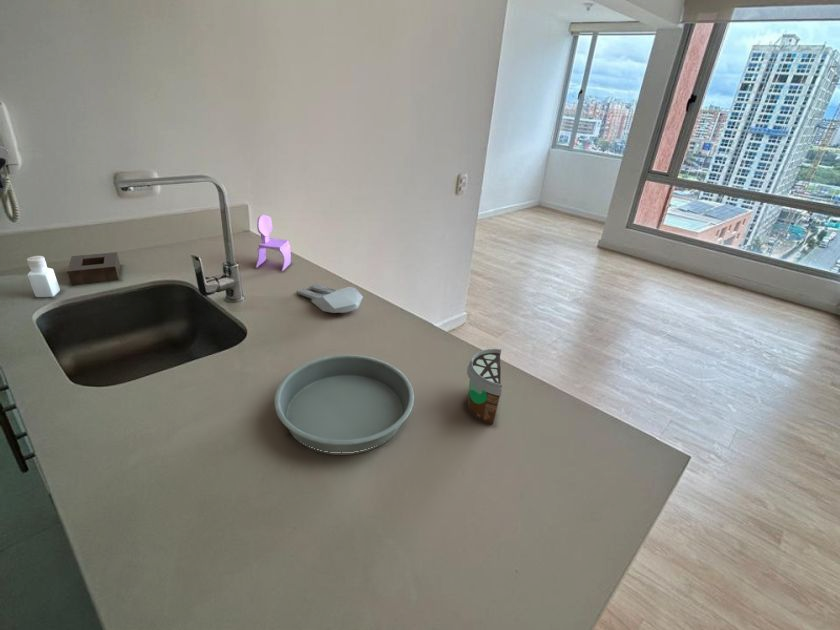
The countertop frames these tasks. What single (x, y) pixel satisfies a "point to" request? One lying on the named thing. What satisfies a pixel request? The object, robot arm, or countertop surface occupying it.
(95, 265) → the holder
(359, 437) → the cake pan
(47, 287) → the pepper shaker
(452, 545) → the countertop surface
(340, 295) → the turret
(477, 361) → the food container
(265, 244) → the toy chair
